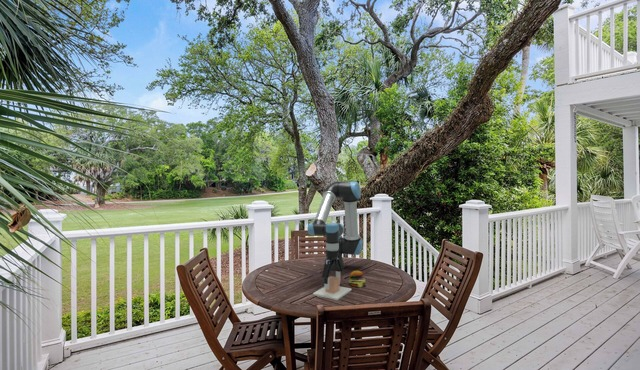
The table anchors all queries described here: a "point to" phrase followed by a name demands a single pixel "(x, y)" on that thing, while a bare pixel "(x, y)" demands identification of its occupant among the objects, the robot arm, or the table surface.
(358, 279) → the cheeseburger
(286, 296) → the table surface
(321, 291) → the post board
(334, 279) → the tan wooden block
